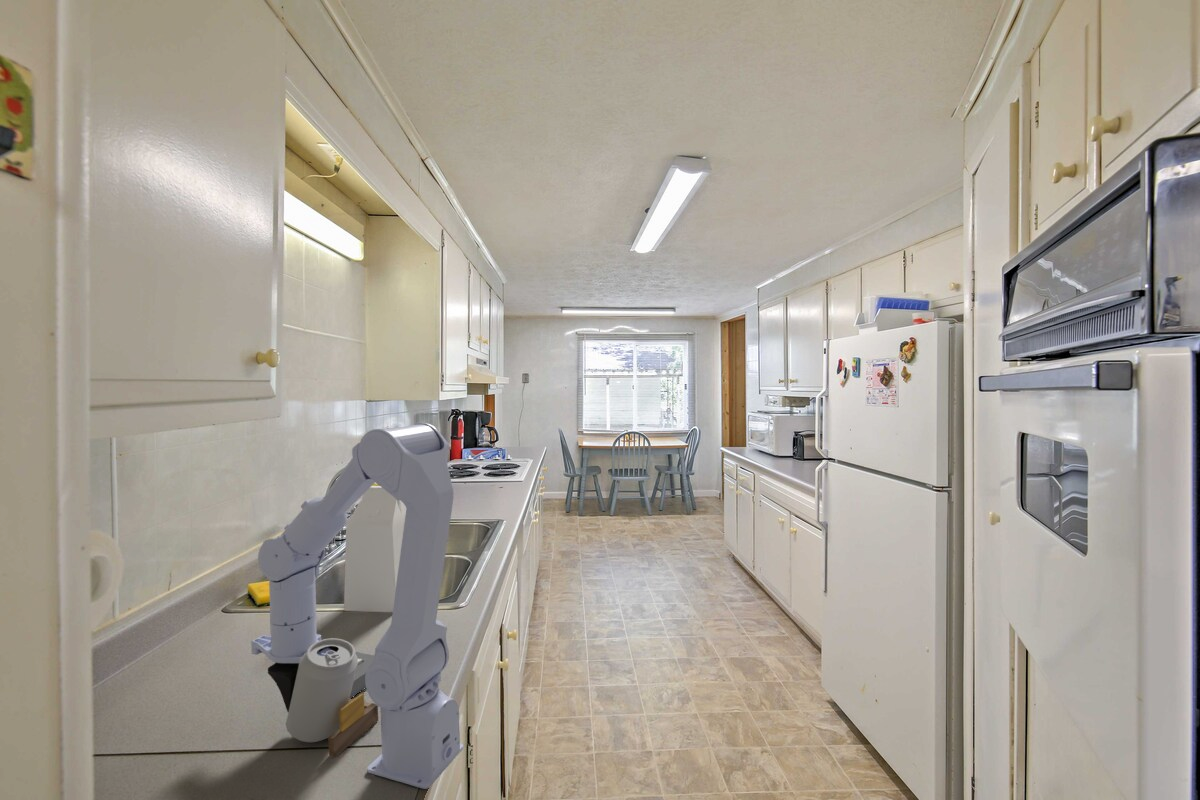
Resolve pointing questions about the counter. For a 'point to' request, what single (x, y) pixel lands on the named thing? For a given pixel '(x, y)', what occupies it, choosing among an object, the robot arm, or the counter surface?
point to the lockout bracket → (352, 724)
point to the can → (321, 690)
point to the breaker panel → (361, 673)
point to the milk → (373, 552)
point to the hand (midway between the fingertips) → (295, 708)
